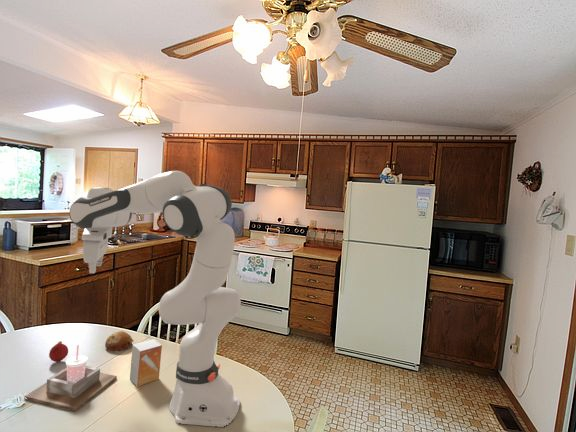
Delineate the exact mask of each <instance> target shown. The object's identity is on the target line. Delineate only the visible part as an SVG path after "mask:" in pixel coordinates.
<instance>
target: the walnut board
mask: <svg viewBox="0 0 576 432" xmlns="http://www.w3.org/2000/svg"><path fill="white" fill-rule="evenodd" d="M116 380H117V375H114V374H108V373H104V372H101V369H100V368H98V367H94V366H89V365H86V368H85V375H84V378H82V379H81V380H79V381H78V382H76V383H73V382H68V381H67V367H65V368H64V369H62V370H60V371H59V372H57V373H55V374H54V375H52V376H50V377H49V378H47V379H46V382H45V383H43V384H42V385H40V386H39V387H37V388H35V389H34V390H33V391H31V392H29V393H28V394H26V395H24V398H25V397H26V398H27V399H28V400H27V401H29V402H30V401H31V402H35V403H38V404H42V405H43V404H44V405H47V406H50V407H55V408H59V409H64V410H67V411H71V412H77V411H78V410H79V409H80V408H82V407H83V406H84V405H85V404H87V403H88V402H89V401H91V400H92V399H93V398H95V397H96V396H97V395H98V394H99V393H101V392H102V391H103V390H105V389H106V388H107V387H108V386H109V385H111V384H112V383H113V382H114V381H116Z"/></svg>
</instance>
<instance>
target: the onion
mask: <svg viewBox="0 0 576 432" xmlns="http://www.w3.org/2000/svg"><path fill="white" fill-rule="evenodd" d="M56 343H57V344H54V345H53V347H51V348H50V350H49V353H48V357H49V359H50V360H51V361H53V362H56V363H60V362H62V361H63V360H64V359H65V358H66V357H67V356H68V355H69V348H68V346H67V345H66V344H64V343H63V341H61V340H60V341H58V342H56Z"/></svg>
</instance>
